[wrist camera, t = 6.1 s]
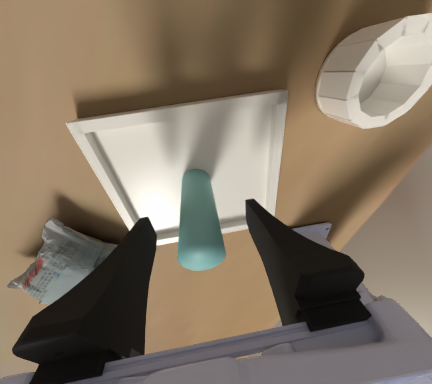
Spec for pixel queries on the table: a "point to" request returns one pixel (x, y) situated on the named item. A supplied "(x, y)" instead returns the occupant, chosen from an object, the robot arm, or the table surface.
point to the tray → (188, 156)
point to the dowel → (199, 224)
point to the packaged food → (61, 262)
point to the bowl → (377, 72)
